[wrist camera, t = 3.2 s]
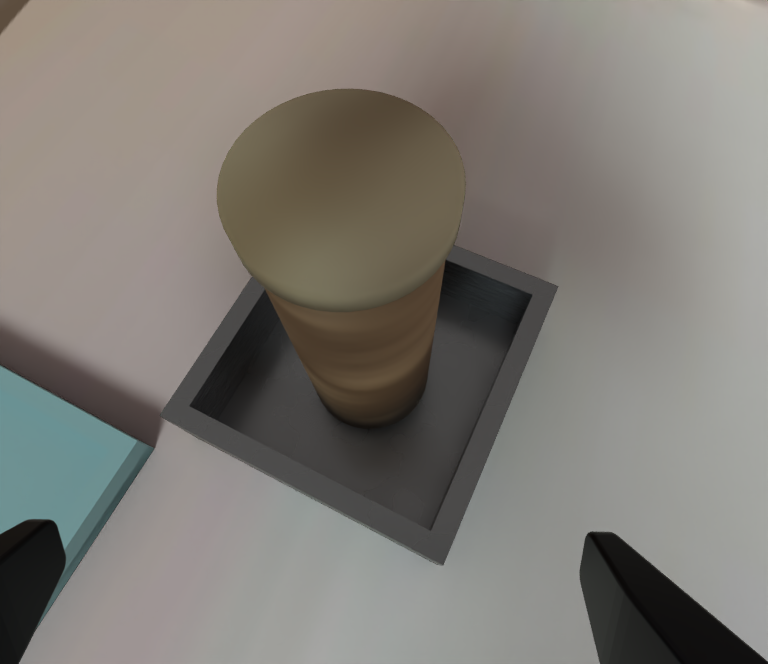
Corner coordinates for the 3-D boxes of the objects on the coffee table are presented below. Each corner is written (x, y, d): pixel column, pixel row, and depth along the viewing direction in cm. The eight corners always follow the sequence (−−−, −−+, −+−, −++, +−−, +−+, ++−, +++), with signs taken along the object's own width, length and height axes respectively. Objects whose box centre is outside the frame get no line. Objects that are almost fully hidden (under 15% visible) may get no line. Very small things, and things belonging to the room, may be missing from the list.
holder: (537, 321, 25) (558, 286, 22) (436, 564, 21) (443, 565, 18) (321, 232, 27) (310, 188, 24) (193, 435, 23) (159, 415, 20)
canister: (451, 346, 24) (503, 133, 12) (399, 455, 22) (399, 333, 10) (345, 300, 25) (295, 62, 13) (287, 400, 23) (166, 230, 11)
